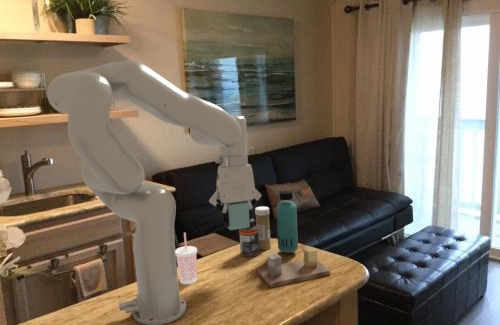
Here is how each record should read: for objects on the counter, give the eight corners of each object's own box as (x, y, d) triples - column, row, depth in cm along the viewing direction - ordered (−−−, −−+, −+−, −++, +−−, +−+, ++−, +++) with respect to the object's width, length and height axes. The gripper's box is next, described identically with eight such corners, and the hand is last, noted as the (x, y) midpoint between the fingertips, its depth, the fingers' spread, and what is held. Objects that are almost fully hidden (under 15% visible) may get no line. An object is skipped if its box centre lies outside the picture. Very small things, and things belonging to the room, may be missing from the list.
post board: (270, 287, 117) (269, 265, 116) (257, 272, 126) (256, 252, 125) (330, 274, 123) (330, 253, 122) (313, 261, 132) (312, 241, 131)
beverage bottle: (292, 247, 143) (290, 187, 139) (302, 255, 137) (300, 192, 133) (274, 251, 141) (271, 190, 137) (283, 258, 135) (280, 195, 131)
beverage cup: (174, 285, 121) (170, 236, 118) (180, 275, 127) (176, 229, 124) (196, 285, 120) (192, 236, 117) (201, 275, 126) (198, 228, 123)
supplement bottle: (247, 249, 144) (246, 215, 142) (263, 252, 140) (261, 218, 138) (236, 255, 139) (234, 221, 137) (252, 259, 136) (250, 223, 134)
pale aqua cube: (230, 230, 121) (229, 205, 120) (224, 224, 126) (223, 200, 125) (249, 227, 123) (248, 202, 122) (243, 221, 128) (242, 198, 127)
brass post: (308, 268, 124) (308, 252, 123) (303, 265, 127) (303, 248, 126) (317, 266, 125) (316, 250, 124) (312, 263, 128) (312, 246, 127)
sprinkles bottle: (273, 247, 144) (272, 208, 141) (262, 251, 142) (260, 210, 139) (265, 243, 148) (263, 205, 145) (254, 247, 145) (252, 207, 143)
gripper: (207, 165, 115) (210, 232, 118) (268, 159, 121) (270, 223, 124) (200, 161, 122) (203, 224, 125) (258, 155, 128) (260, 216, 131)
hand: (236, 223), depth 124 cm, fingers closed on pale aqua cube, 5 cm apart
